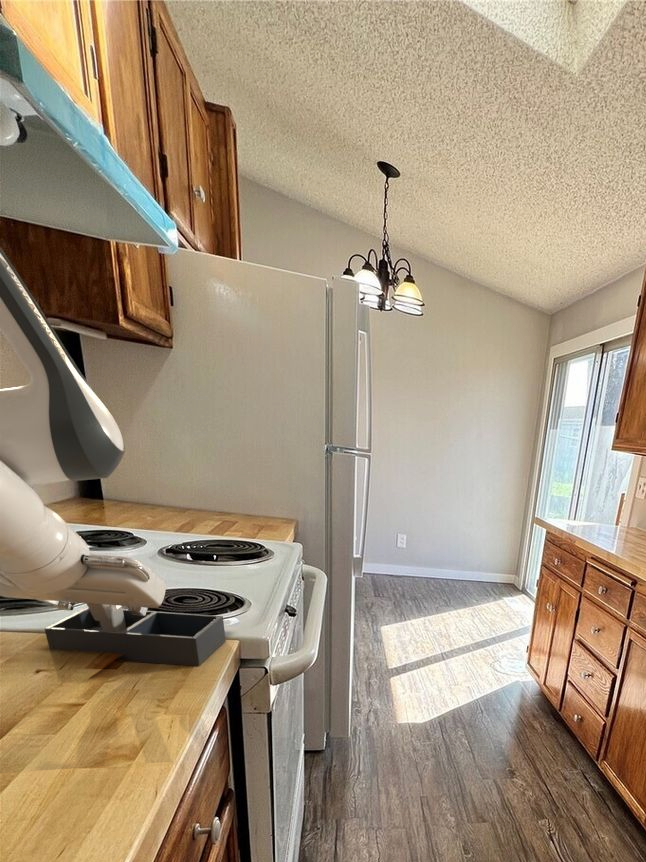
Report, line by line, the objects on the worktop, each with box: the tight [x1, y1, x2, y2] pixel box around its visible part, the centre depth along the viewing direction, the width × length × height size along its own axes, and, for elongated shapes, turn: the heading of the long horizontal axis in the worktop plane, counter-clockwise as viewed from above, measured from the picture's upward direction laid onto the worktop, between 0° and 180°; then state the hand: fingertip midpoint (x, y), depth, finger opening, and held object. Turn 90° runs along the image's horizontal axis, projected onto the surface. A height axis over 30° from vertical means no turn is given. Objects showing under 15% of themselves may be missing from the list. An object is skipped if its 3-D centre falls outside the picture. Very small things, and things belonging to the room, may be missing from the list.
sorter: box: [44, 606, 227, 667], centre depth 79 cm, size 19×10×4 cm, turn 95°
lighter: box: [85, 603, 126, 632], centre depth 77 cm, size 7×2×8 cm, turn 15°
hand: (105, 608), depth 78 cm, fingers open, 8 cm apart
